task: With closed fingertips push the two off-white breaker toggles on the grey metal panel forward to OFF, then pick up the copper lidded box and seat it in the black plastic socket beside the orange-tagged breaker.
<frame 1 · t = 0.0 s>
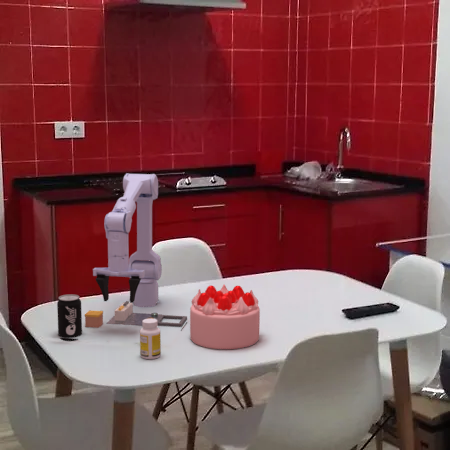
hand: (119, 301, 216), 10 cm above the table, tool pointing down, fingers open, 7 cm apart
supplement bottle: (150, 356, 201), on the table
breaker 2: (121, 312, 229), point 3 cm above the table, slide at 0.0 cm, touching panel
cake: (224, 339, 216), on the table
copper lidded box: (94, 329, 223), on the table
breaker 1: (126, 308, 234), point 3 cm above the table, slide at 0.0 cm, touching panel
socket: (171, 325, 227), on the table
beverage can: (70, 338, 215), on the table
panel: (134, 322, 229), on the table
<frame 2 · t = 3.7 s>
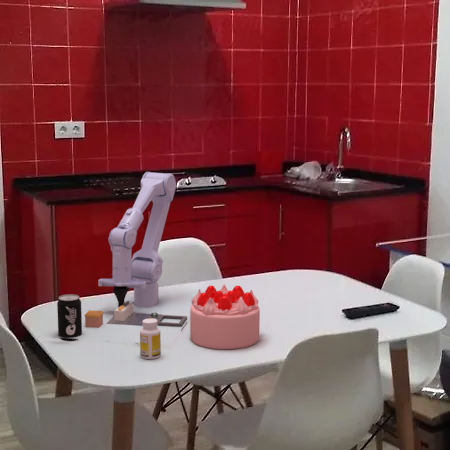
hand: (122, 309, 234), 2 cm above the table, tool pointing down, fingers closed, pressing on breaker 1
breaker 1: (126, 308, 234), point 3 cm above the table, slide at 0.2 cm, touching gripper, panel
everything else where it was.
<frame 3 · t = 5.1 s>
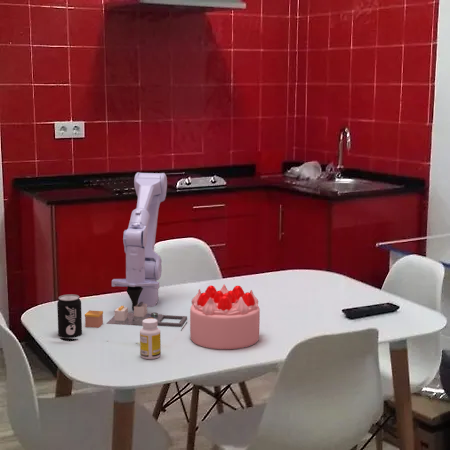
hand: (135, 310, 234), 3 cm above the table, tool pointing down, fingers closed, pressing on breaker 1
breaker 1: (140, 309, 233), point 3 cm above the table, slide at 4.6 cm, touching gripper, panel
everything else where it was.
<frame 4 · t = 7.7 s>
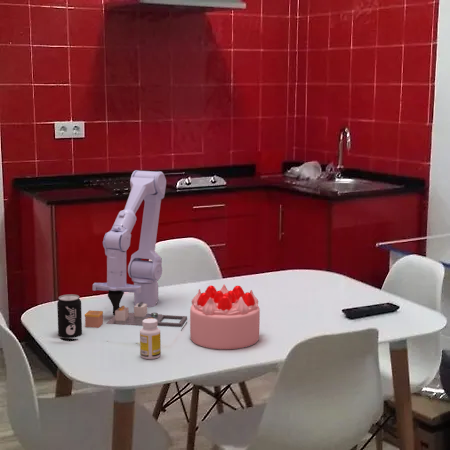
hand: (116, 314, 229), 2 cm above the table, tool pointing down, fingers closed, pressing on breaker 2
breaker 2: (121, 312, 229), point 3 cm above the table, slide at 0.2 cm, touching gripper, panel
breaker 1: (140, 309, 233), point 3 cm above the table, slide at 4.6 cm, touching panel
everything else where it was.
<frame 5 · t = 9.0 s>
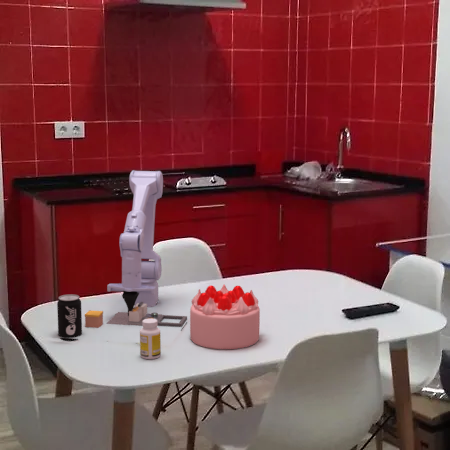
hand: (131, 315, 229), 2 cm above the table, tool pointing down, fingers closed, pressing on breaker 2
breaker 2: (135, 313, 228), point 3 cm above the table, slide at 4.5 cm, touching gripper, panel
everything else where it was.
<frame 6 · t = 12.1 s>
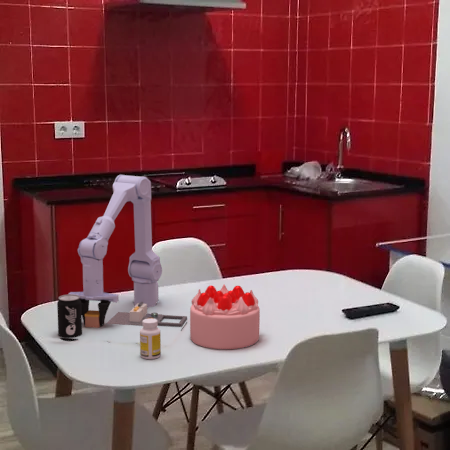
hand: (94, 324, 223), 1 cm above the table, tool pointing down, fingers closed on copper lidded box, 4 cm apart
breaker 2: (136, 313, 228), point 3 cm above the table, slide at 4.7 cm, touching panel
copper lidded box: (94, 329, 223), on the table, touching gripper
everything else where it was.
when the fingers open (3 cm above the table, at t = 16.4 s): copper lidded box drops 1 cm, resting in socket.
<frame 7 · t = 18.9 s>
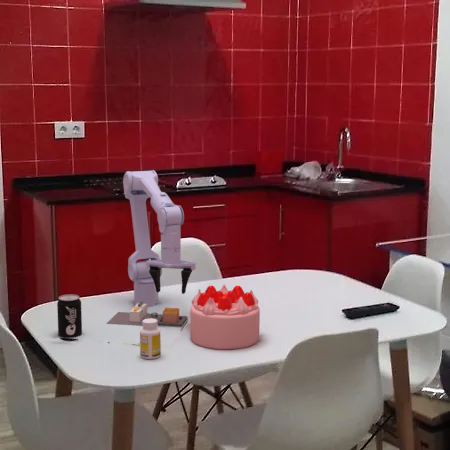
hand: (171, 292, 225), 10 cm above the table, tool pointing down, fingers open, 7 cm apart
copper lidded box: (171, 326, 227), resting in socket
everything else where it was.
at the end: breaker 1 slide at 4.6 cm; breaker 2 slide at 4.7 cm; copper lidded box 0.0 cm from the socket (horizontally) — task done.
